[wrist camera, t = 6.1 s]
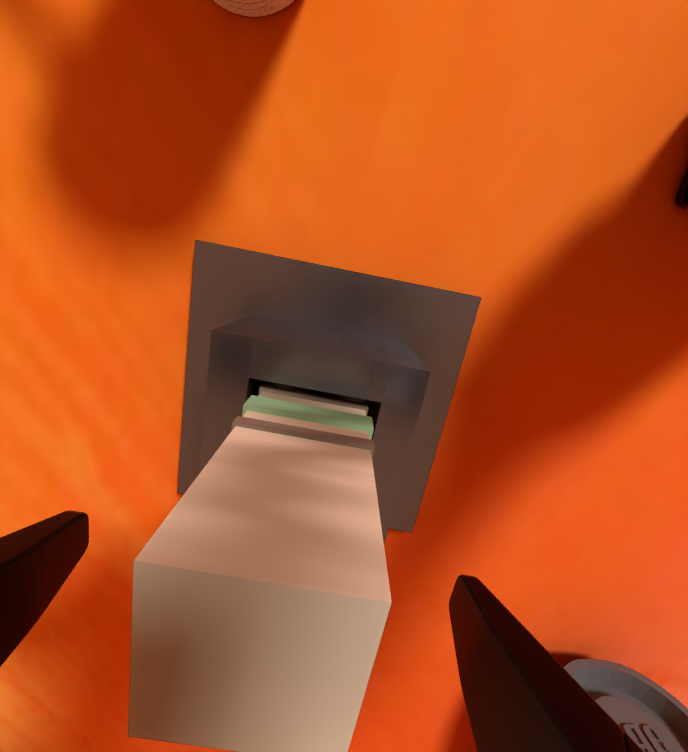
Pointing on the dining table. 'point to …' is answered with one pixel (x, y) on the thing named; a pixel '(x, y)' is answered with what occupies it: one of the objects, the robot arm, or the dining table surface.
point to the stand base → (324, 358)
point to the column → (265, 586)
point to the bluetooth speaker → (635, 704)
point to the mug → (254, 6)
